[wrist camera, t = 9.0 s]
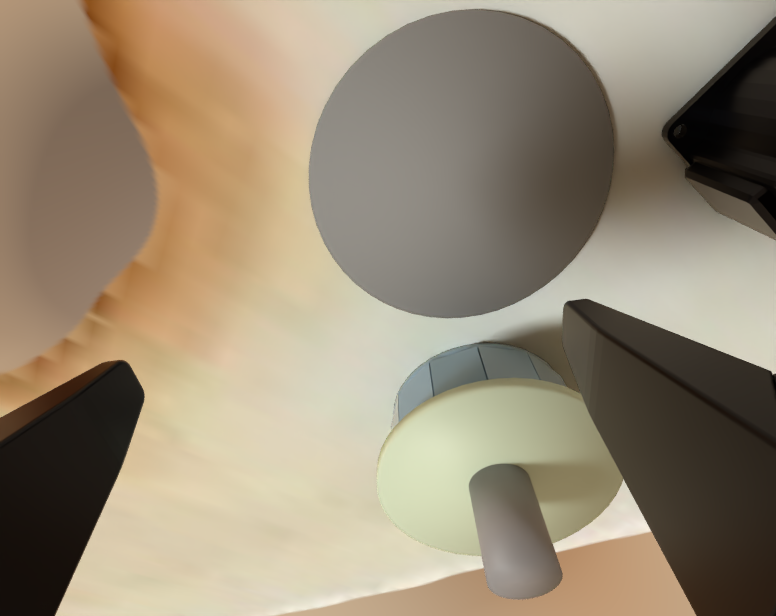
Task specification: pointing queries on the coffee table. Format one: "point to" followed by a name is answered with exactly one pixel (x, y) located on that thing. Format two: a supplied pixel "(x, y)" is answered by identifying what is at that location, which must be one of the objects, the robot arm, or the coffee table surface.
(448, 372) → the bowl
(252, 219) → the coffee table surface
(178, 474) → the coffee table surface
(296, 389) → the coffee table surface
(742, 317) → the coffee table surface
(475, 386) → the lid
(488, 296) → the mat
